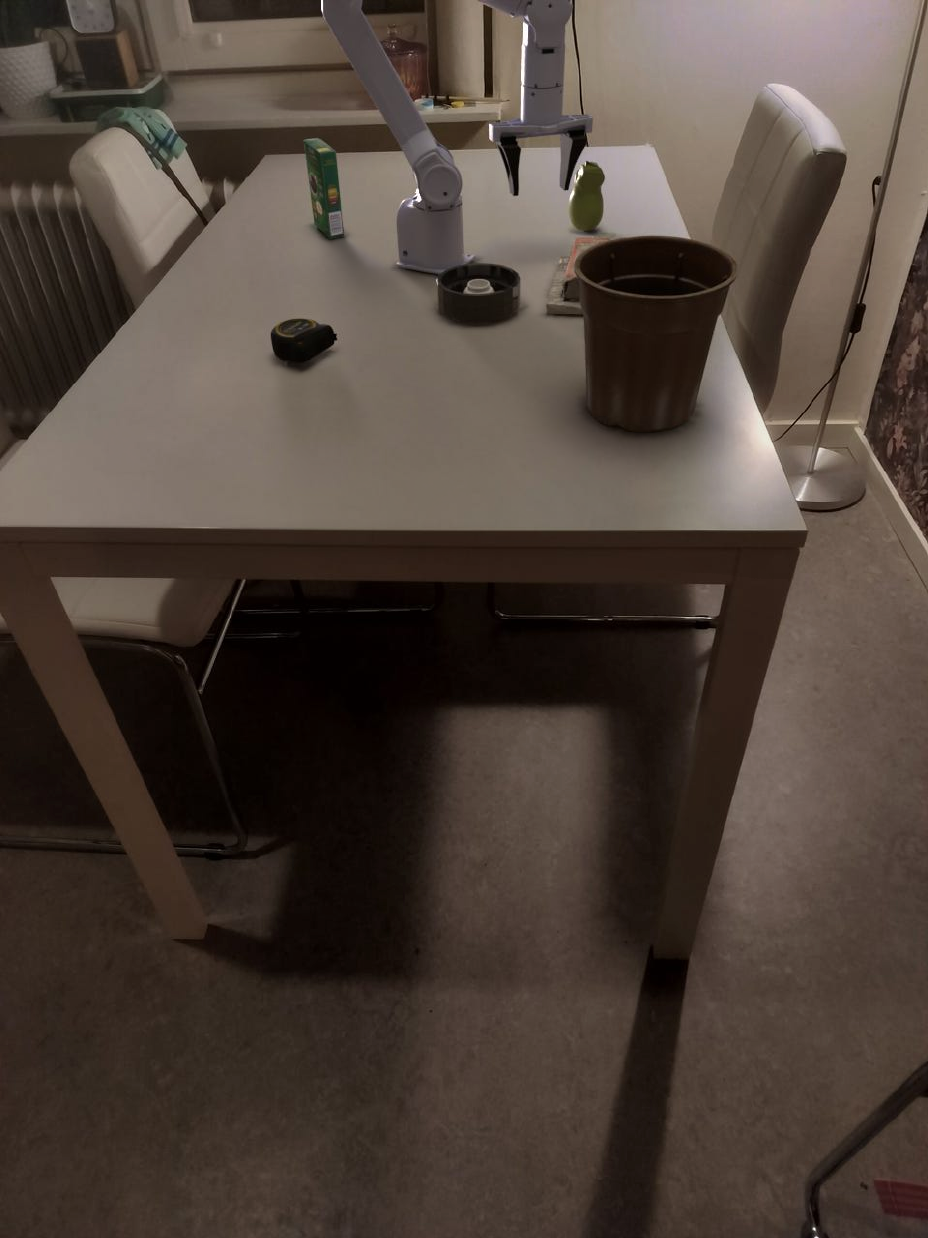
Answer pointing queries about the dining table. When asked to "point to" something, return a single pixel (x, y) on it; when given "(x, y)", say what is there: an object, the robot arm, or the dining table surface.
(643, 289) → the plant pot
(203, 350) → the dining table surface
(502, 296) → the bowl
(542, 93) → the robot arm
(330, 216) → the coffee box
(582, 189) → the pear
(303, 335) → the tape measure
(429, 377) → the dining table surface
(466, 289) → the white jar
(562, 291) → the packaged product
